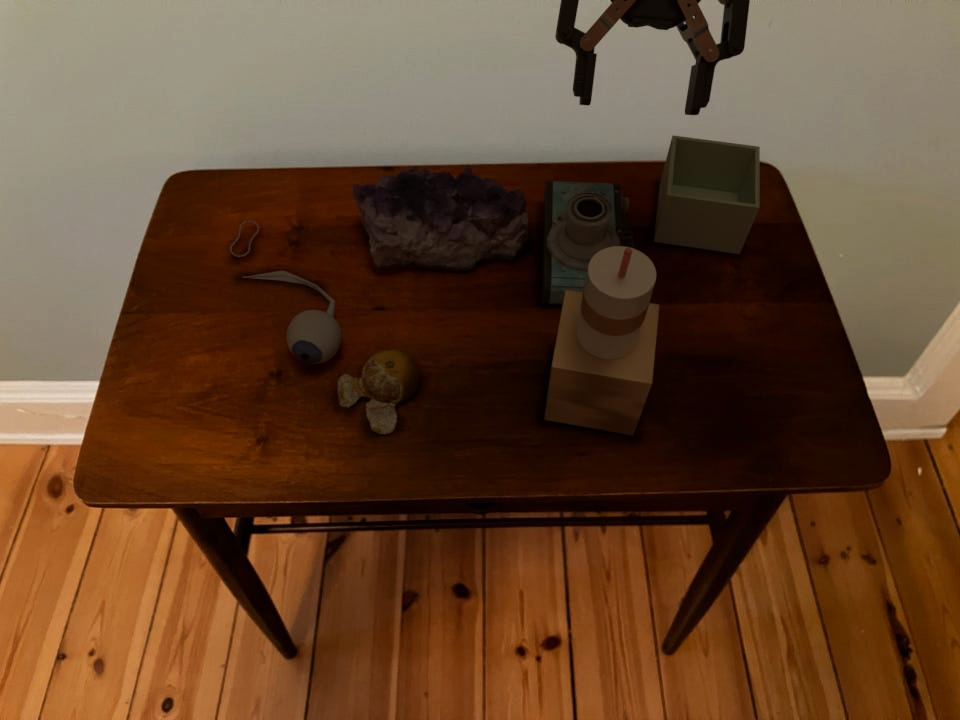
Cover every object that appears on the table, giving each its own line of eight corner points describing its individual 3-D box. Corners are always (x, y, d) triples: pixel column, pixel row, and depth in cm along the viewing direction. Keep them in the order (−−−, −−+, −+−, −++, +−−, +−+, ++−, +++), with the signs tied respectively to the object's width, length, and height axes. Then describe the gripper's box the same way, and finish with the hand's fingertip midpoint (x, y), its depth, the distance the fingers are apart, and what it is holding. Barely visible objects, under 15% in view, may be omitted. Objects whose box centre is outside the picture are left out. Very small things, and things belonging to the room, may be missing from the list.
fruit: (327, 393, 76) (321, 375, 73) (385, 344, 80) (381, 324, 77) (383, 441, 73) (379, 424, 70) (441, 387, 77) (439, 368, 74)
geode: (524, 200, 92) (533, 144, 83) (529, 280, 87) (538, 230, 78) (360, 199, 91) (350, 142, 82) (355, 279, 86) (343, 229, 77)
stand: (641, 361, 78) (659, 304, 70) (633, 435, 74) (652, 383, 65) (557, 347, 79) (565, 289, 71) (543, 420, 75) (551, 366, 66)
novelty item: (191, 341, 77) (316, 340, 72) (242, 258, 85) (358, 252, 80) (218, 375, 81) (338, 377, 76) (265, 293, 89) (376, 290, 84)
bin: (740, 194, 92) (759, 146, 85) (739, 254, 86) (759, 207, 80) (659, 183, 93) (672, 135, 87) (653, 241, 88) (666, 194, 81)
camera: (549, 140, 83) (638, 144, 83) (544, 202, 91) (625, 205, 91) (547, 251, 74) (647, 255, 74) (541, 308, 82) (631, 313, 82)
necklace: (226, 255, 87) (225, 252, 86) (244, 220, 89) (243, 217, 88) (246, 259, 86) (245, 257, 86) (263, 224, 89) (262, 222, 88)
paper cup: (640, 315, 69) (669, 216, 58) (635, 365, 66) (664, 271, 55) (580, 305, 70) (597, 206, 59) (572, 354, 67) (589, 259, 56)
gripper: (579, -151, 51) (552, 99, 55) (786, -133, 51) (742, 116, 55) (569, -114, 58) (546, 104, 62) (750, -98, 58) (714, 119, 62)
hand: (638, 109), depth 59 cm, fingers open, 8 cm apart
